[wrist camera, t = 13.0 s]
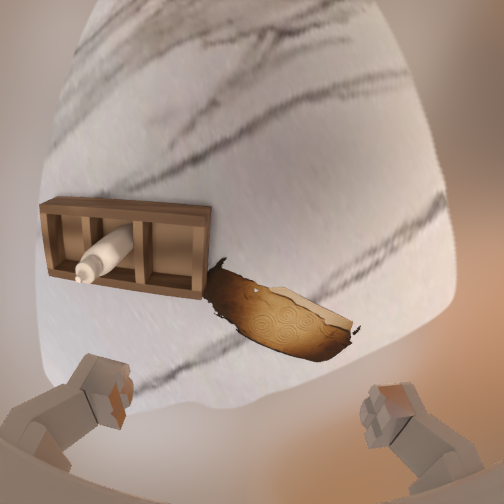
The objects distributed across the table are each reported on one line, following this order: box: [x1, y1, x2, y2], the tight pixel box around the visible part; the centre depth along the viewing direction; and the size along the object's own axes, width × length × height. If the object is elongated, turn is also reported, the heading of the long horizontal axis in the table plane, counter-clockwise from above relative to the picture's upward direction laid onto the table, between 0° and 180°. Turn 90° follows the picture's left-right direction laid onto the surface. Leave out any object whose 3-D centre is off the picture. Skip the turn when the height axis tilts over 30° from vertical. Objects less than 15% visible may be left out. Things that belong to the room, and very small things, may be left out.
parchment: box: [203, 258, 361, 362], centre depth 42 cm, size 25×10×1 cm, turn 60°
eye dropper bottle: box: [75, 223, 134, 284], centre depth 31 cm, size 4×6×12 cm
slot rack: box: [39, 196, 211, 300], centre depth 36 cm, size 10×23×4 cm, turn 84°
